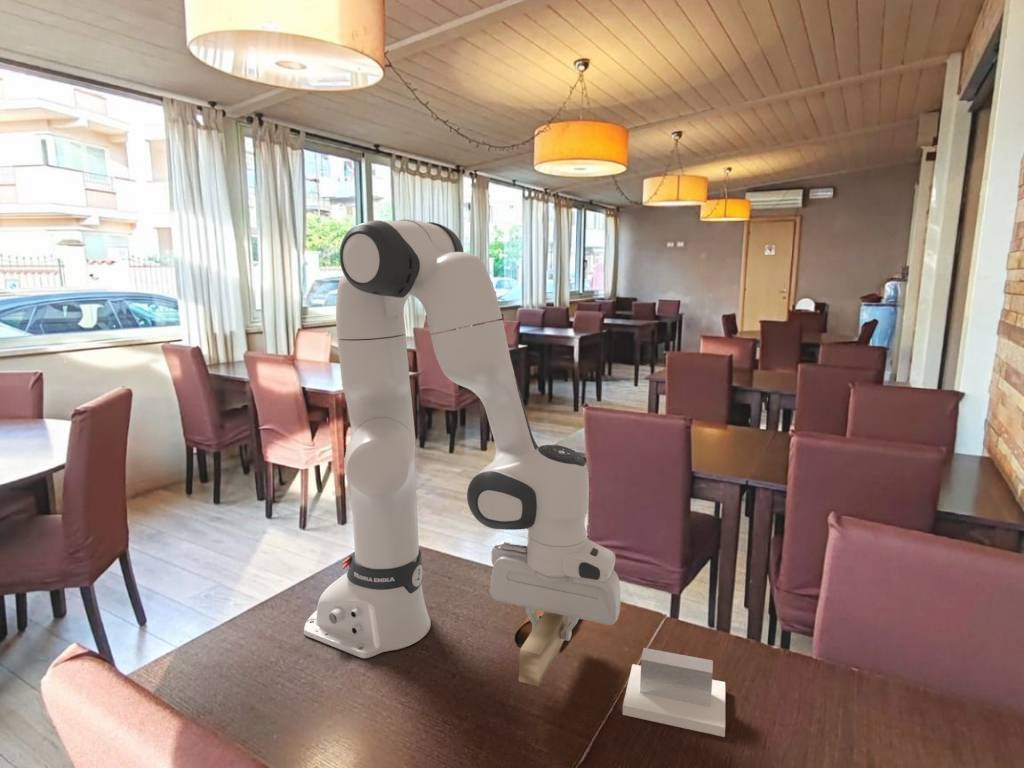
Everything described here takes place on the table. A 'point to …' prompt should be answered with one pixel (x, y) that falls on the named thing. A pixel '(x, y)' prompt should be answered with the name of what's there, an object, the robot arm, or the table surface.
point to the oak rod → (541, 648)
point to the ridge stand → (676, 692)
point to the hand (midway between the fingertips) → (551, 635)
